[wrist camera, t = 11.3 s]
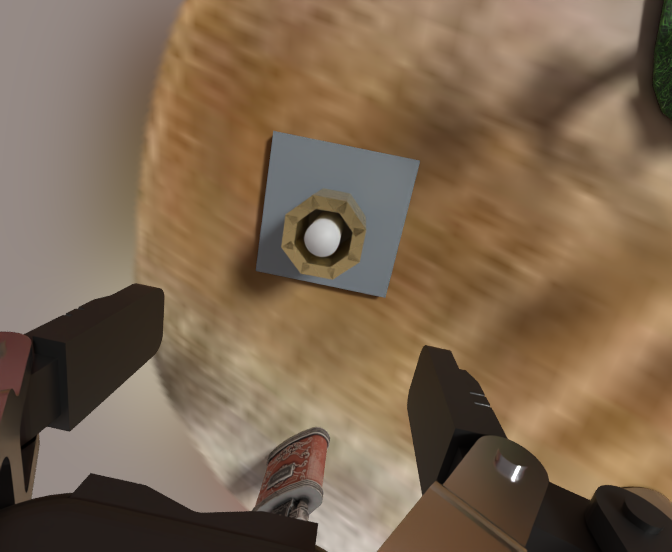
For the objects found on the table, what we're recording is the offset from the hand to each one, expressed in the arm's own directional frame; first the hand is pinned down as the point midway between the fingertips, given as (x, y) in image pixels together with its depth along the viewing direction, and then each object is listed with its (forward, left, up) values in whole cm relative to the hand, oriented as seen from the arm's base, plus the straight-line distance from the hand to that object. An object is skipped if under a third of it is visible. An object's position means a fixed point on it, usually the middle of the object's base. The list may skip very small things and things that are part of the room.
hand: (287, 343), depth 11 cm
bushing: (0, -1, -19) cm, 19 cm away
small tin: (-1, +25, -22) cm, 34 cm away
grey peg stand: (0, -1, -22) cm, 22 cm away
